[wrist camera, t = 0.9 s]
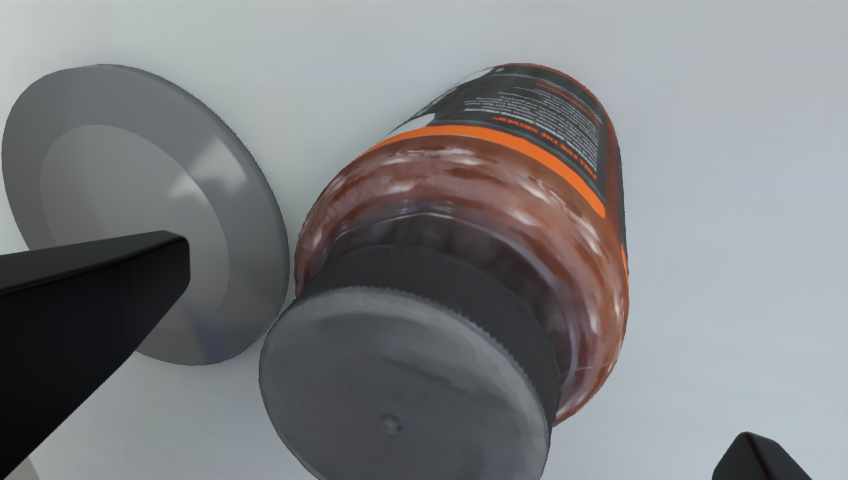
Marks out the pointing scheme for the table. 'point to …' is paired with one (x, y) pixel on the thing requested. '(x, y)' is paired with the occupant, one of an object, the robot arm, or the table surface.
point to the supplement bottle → (456, 288)
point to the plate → (151, 197)
